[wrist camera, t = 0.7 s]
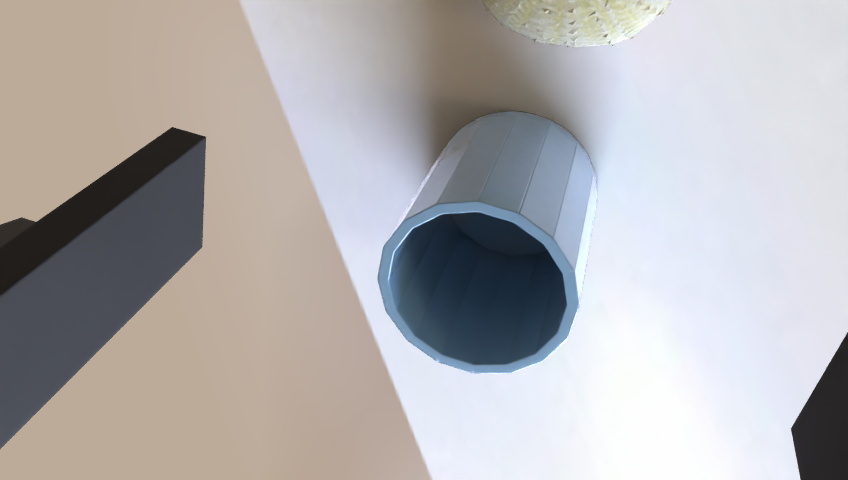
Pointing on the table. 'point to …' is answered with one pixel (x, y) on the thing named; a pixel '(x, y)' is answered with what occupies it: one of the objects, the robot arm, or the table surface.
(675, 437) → the table surface
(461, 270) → the tumbler
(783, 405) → the table surface
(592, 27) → the sea urchin shell
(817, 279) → the table surface
